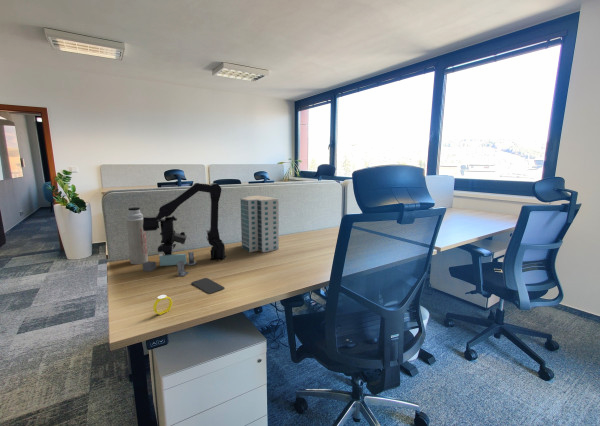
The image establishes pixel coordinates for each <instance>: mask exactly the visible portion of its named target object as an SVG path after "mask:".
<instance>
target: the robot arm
mask: <svg viewBox="0 0 600 426" xmlns="http://www.w3.org/2000/svg"><path fill="white" fill-rule="evenodd" d="M198 192H203V193H208V194H209V199H210V214H209V216H210V217H209V224H210V226H209V230H206V238H205V239H206V241H207V242H208V244H209V245H210V246H211V247H210V260H211V261H214V260H215V261H223V260H224V259H226V257H227V254H226V250H225V249H226V247H225V242H224V241H223V240H222V239H221V238H220V232H219V202H220V198H221V194H222V187H221V186H220V185H219V184H218V183H215V182H213V183H211V184H208V183H207V184H206V183H199V182H195V183H193V185H191V186H190V187H189V188H187V189H186V190H185V191H183V192H182V193H180V194H179V195H178V196H176V197H175V198H173V199H171V200H169V201H167V202H165V203H163V204H161V205H160V207H159V209H158V213H157V214H156V216H143V231H146V232H154V231H158V229H160V232H159V233H160V234H159V235H160V236H161V241H160V244H159V245H158V247H157V252H158V253H164V255H171V254H173V251H174V249H175V248H176V246H177V244H176V243H179V244H181V245H184V244H185V243H186V241H187V238H188V236H187V235H186V233H185V231H181V232H179V233H177V232H176V230H175V227H174V221H175V222H176V221H178V217H176V216H175V215H174V214H173V213H174V212H175V211H176V210H177V209H178V207H180V205H182V204H183V203H184V202H186V201H187V200H189V199H190V198H191V197H193V196H194V195H196V194H197V193H198ZM172 214H173V215H172ZM171 215H172V216H171Z"/></svg>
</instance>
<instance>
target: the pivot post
mask: <svg viewBox="0 0 600 426" xmlns="http://www.w3.org/2000/svg"><path fill="white" fill-rule="evenodd" d="M187 255H188V261H187V263H186V265H187V266H195V265H197V261H195V256H194V255H195V254H194V251H188V254H187Z"/></svg>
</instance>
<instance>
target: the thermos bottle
mask: <svg viewBox="0 0 600 426" xmlns="http://www.w3.org/2000/svg"><path fill="white" fill-rule="evenodd" d="M126 217H127V218H126V219H125V221H126V223H125V224H126V231H127V232H126V234H127V243H128V253H129V262H130V264H131V265H141V264H142V265H143V264H144V263H146V262H147V261H149V255H148V254H149V253H148V244H147V242H148V241H147V234H146V233H147V231H143V218H144V215H143V213H141V208H140V207H139V206H138V207H136V206H135V207H129V208H128V214H127V216H126Z"/></svg>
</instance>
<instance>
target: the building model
mask: <svg viewBox="0 0 600 426" xmlns="http://www.w3.org/2000/svg"><path fill="white" fill-rule="evenodd" d="M239 202H240V203H239V204H240V227H241V228H240V229H241V234H240V236H241V248H242V249H243V250H245V251H247V252H249V253H253V252H257V251H258V252H261V253H268V252H273V251H277V250H280V246H279V244H280V242H279V241H280V237H279V235H280V233H279V222H280V221H279V198H276V197H275V198H274V197H270V196H263V195H252V196H251V195H250V196H249V195H248V196H244V197H241V198H240V201H239Z"/></svg>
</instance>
